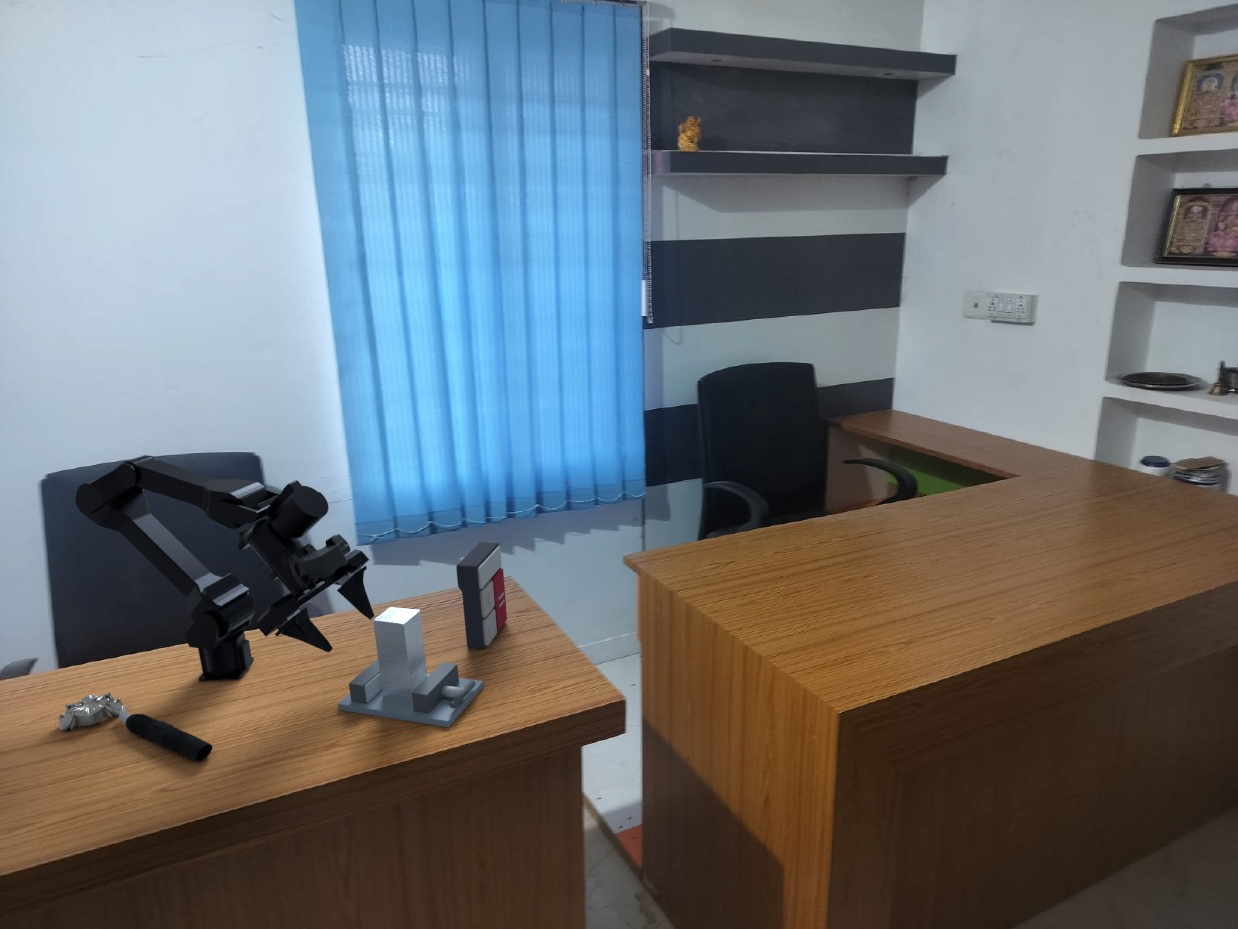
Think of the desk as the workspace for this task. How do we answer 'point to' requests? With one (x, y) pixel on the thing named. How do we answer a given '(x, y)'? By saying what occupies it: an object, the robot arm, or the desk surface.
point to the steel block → (400, 652)
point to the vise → (414, 696)
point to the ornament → (89, 711)
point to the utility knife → (166, 735)
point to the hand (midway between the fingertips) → (352, 633)
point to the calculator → (482, 594)
